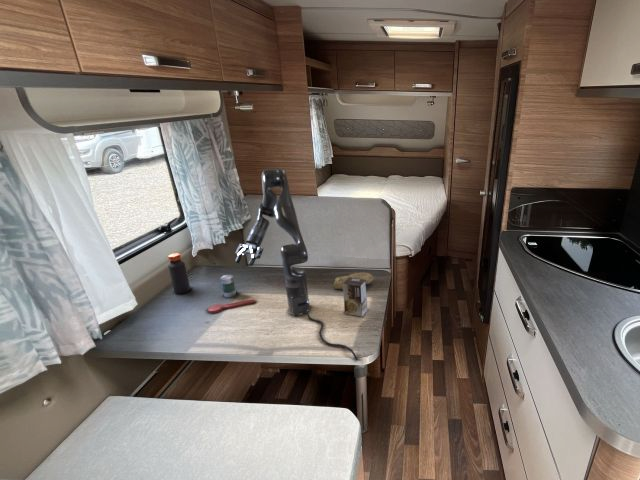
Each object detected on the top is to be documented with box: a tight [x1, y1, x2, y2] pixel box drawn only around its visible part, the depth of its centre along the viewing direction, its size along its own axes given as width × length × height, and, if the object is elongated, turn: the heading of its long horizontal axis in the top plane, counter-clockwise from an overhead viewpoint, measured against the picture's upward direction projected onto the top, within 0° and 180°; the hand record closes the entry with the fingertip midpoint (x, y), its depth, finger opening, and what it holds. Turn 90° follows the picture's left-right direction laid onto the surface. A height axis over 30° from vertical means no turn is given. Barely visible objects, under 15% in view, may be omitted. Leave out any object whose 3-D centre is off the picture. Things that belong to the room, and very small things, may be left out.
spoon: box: [207, 298, 255, 314], centre depth 159 cm, size 6×20×1 cm, turn 115°
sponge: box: [333, 272, 375, 290], centre depth 179 cm, size 13×8×20 cm
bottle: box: [167, 252, 191, 295], centre depth 169 cm, size 7×7×20 cm
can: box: [219, 274, 237, 298], centre depth 168 cm, size 6×6×10 cm
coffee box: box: [342, 277, 368, 317], centre depth 155 cm, size 9×6×16 cm
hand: (243, 263), depth 175 cm, fingers open, 8 cm apart
